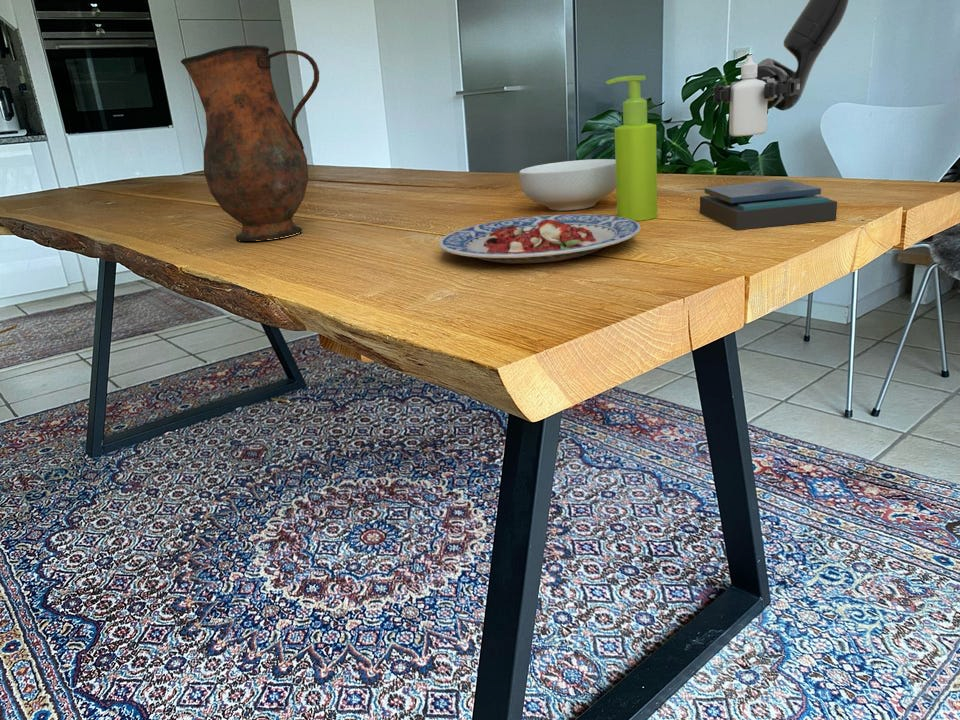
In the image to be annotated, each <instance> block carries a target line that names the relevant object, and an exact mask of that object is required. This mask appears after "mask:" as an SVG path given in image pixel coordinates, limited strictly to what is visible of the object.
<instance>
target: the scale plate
mask: <svg viewBox="0 0 960 720" xmlns="http://www.w3.org/2000/svg"><path fill="white" fill-rule="evenodd" d="M704 194H706V195H707V196H710V195H711V196H714V197H716V198H719V199H721V200H724V201H726V202H729V203H740V202H750V201H760V200H770V199H780V198H790V197H800V196H810V195H815V196H819V195H820V196H821V194H822V188H821V187H817V186H815V185H814V186H813V185H811V184H810V185H809V184H805V183H801V182H797V181H793V180H790V179H775V180H766V181H757V182H747V183H736V184H727V185H718V186H708V187H707V186H706V187H704Z"/></svg>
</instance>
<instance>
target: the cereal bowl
mask: <svg viewBox="0 0 960 720" xmlns="http://www.w3.org/2000/svg"><path fill="white" fill-rule="evenodd" d="M518 176H519V182H520V186H521V189H522V192H523V193H524V195H525V196H526V197H527V198H528V199H529V200H531V201H532V202H534V203H536V204H538V205H543V206H545V207H547V208H548V210H551V211H558V212H566V211H576V210H577V211H578V210H584V209H589V208H593V207H595V206H596V204H597V203H598V202H599V201H601V200H603V199H604V198H606V197H608V196H609V195H611V194H612V193H613V192H615V190H616V159H615V158H614V159H612V158H596V159H595V158H594V159H593V158H591V159H579V160H567V161H566V160H565V161H558V162H551V163H544V164H538V165H533V166H529V167H525V168H522V169H521V170H519V172H518Z"/></svg>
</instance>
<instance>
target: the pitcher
mask: <svg viewBox="0 0 960 720" xmlns="http://www.w3.org/2000/svg"><path fill="white" fill-rule="evenodd" d="M269 52H270V48H269V47H268V46H266V45H255V44H250V45H249V44H244V45H233V46H232V45H231V46H227V47H226V46H225V47H223V48H222V47H221V48H217V49H213V50H209V51H207V52H203V53H200V54H197V55H193V56H188V57H183V58H182V59H181V60H180V63H181V65H183V66H184V68H185V70H186V71H187V73H188V75H189V76H190V79H191V80H192V82H193V84H194V86H195V88H196V89H195V90H196V91H197V93H198V97H199V99H200V102H201V104H202V107H203V110H204V113H205V123H206V124H205V125H206V135H205V141H204V146H203V152H202V153H203V154H202V155H203V175H204V178H205V181H206V183H207V187H208V189H209V190H208V191H209V193H210V194H211V196H212V197H213V198H214V200H215V201H216V203H217V204H218V206H219V207H220V208H221V210H222V211H224V212H225V213H226V214H228V215H229V216H230V217H231V218H232V219H233V220H235V221H236V222H237V223H239V224H241V225H242V229H241V232H240V233H238V234H237V235H236V237H235V239H237V240H240V241H256V240H267V239H274V238H280V237H285V236H289V235H293V234H296V233H299V232H301V231H302V230H303V228H302V227H301V226H298V225H295V223H294V222H293V217H294V216H295V214H296V213H297V211H298V209H299V208H300V206H301V204H302V202H303V200H304V198H305V195H306V190H307V186H308V182H309V169H308V168H309V167H308V157H307V155H306V153H305V150H304V149H305V147H304V145H303V141H302V139H301V137H300V135H299V133H298V130H297V128H296V120H297V117H298V116H299V114H300V111H301V110H302V109H303V108H304V106H305V105H306V104H307V102H308V101H309V99H310V98H311V97H312V95H313V94H314V92H315V91H316V89H317V88H318V84H319V83H320V70H319V67H318V64H317V62H316V61H315V60H314V58H313V57H312V56H310V55H309V54H308V53H307V52H303V51H301V50H295V49H289V50H287V49H286V50H284V49H283V50H279V51H275V52H272V53H269ZM285 54H286V55H287V54H291V55H292V54H293V55H297V56H301V57H303V58H304V59H306V60H307V61H308V62H309V64H310V65H311V67H312V70H313V80H312V82H311V85H310V87H309V88H308V90H307V92H306V93H305V94H304V96H303V97H302V99H300V100H299V103H297V105H296V107H295V108H294V110H293V113H292V116H291V122H290V121H289V119H288V117H287V115H286V113H285V111H284V110H283V108H282V106H281V104H280V103H279V99H278V97H277V93H276V89H275V86H274V83H273V77H272V73H271V68H272V65H271V59H273V58H274V57H277V56H280V55H285ZM302 232H303V231H302ZM302 232H301V233H302ZM237 240H236V241H237ZM240 241H239V242H240Z"/></svg>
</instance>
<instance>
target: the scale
mask: <svg viewBox="0 0 960 720" xmlns="http://www.w3.org/2000/svg"><path fill="white" fill-rule="evenodd" d="M837 210H838V201H837V200H833V199H830V197H825V196H822V195H820V196H819V195H810V196H800V197H790V198H780V199H770V200H760V201H750V202H740V203H729V202H726V201H724V200H721V199H719V198H716V197H714V196H711V195H701V196H699V213H700V214H701V215H704V216H706V217H708V218H710V219H712V220H714V221H716V222H718V223H720V224H722V225H725V226H727V227H729V228H731V229H733V230H735V231H741V230H752V229H761V228H762V229H763V228H771V227H772V228H773V227H783V226H790V225H801V224H802V225H803V224H813V223H823V222H832V221H836V220H837Z"/></svg>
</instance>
